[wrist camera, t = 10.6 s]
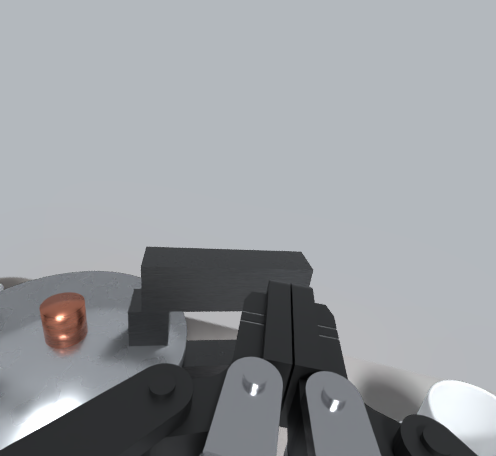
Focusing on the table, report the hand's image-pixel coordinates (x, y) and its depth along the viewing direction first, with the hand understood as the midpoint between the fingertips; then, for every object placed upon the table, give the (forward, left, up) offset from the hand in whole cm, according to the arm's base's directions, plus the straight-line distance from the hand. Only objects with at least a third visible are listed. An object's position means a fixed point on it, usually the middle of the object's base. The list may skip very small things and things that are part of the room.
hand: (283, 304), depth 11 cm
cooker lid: (-3, +15, -14) cm, 21 cm away
